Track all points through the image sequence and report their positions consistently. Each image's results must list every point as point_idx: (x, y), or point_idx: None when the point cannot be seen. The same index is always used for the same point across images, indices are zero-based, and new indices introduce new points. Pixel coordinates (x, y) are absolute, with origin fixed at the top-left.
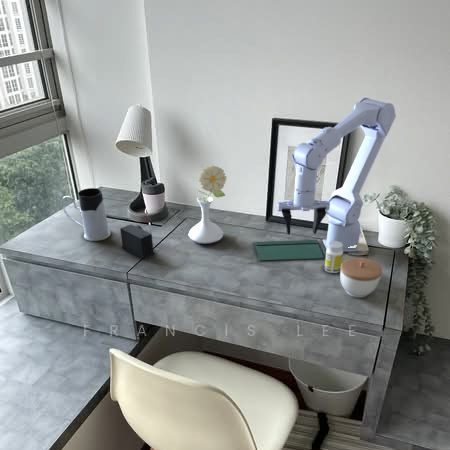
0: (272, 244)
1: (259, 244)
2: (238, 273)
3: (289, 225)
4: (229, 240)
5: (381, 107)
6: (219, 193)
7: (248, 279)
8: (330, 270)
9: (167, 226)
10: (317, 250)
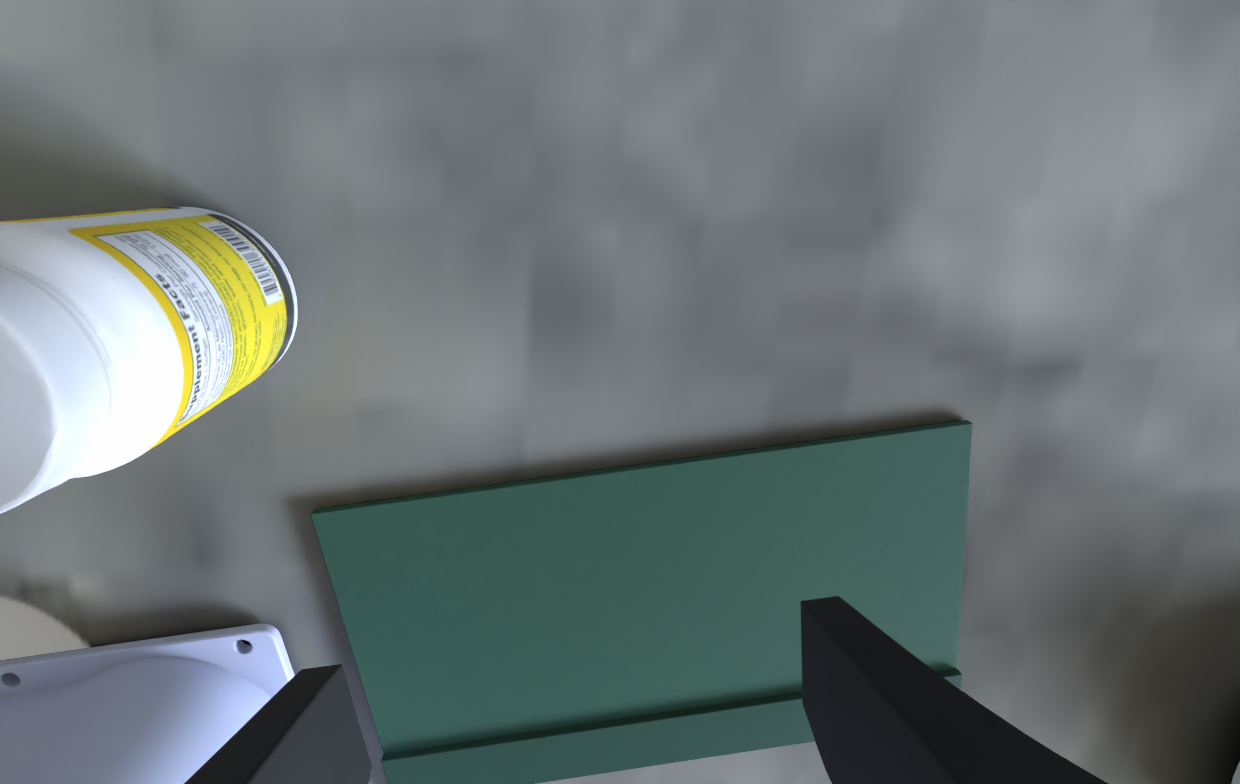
0: None
1: None
2: (1219, 160)
3: (941, 731)
4: (1154, 733)
5: None
6: None
7: (1147, 31)
8: (213, 217)
9: None
10: (384, 640)
